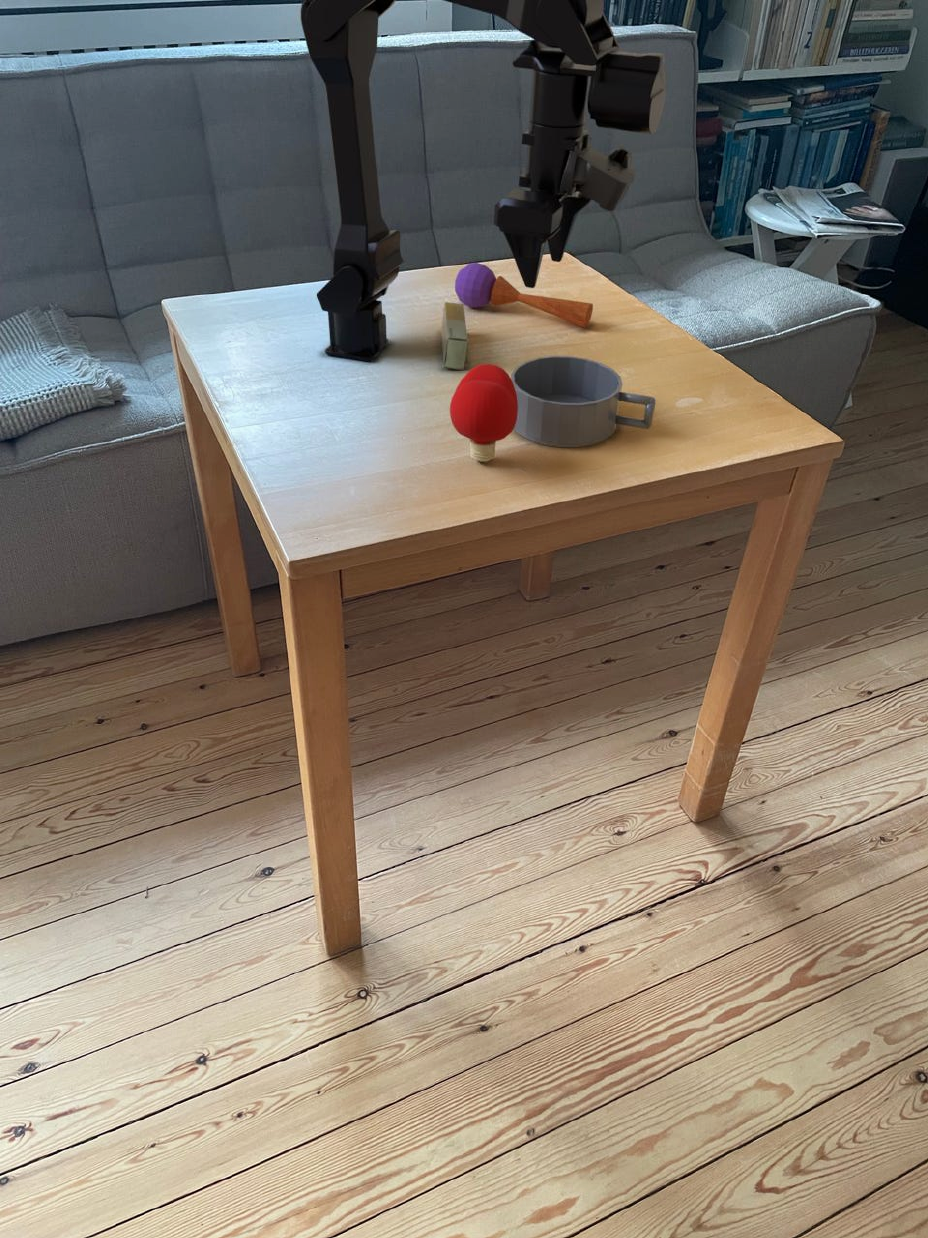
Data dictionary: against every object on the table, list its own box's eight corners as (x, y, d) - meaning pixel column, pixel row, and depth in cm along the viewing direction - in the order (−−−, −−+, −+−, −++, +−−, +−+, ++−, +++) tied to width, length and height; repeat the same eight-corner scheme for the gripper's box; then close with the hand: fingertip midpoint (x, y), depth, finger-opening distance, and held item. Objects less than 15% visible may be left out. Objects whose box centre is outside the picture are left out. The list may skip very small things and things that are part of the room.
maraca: (583, 307, 123) (448, 271, 129) (578, 345, 128) (448, 309, 133) (598, 285, 127) (466, 250, 132) (593, 323, 132) (465, 288, 137)
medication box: (464, 370, 117) (468, 340, 115) (443, 368, 117) (446, 338, 114) (459, 330, 126) (463, 301, 124) (440, 328, 126) (443, 299, 123)
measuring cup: (495, 436, 104) (497, 393, 101) (524, 389, 113) (527, 349, 110) (640, 461, 100) (647, 418, 97) (658, 411, 110) (665, 370, 106)
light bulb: (507, 487, 96) (512, 398, 90) (441, 479, 97) (441, 390, 90) (520, 444, 103) (526, 359, 97) (459, 437, 104) (460, 352, 98)
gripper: (607, 152, 86) (587, 315, 96) (655, 112, 100) (633, 260, 110) (496, 136, 89) (488, 296, 99) (557, 100, 103) (544, 244, 113)
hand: (543, 273), depth 105 cm, fingers open, 9 cm apart
